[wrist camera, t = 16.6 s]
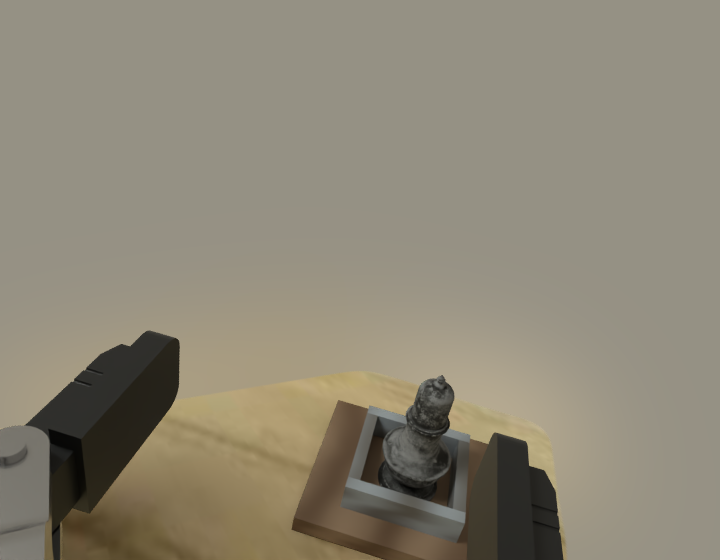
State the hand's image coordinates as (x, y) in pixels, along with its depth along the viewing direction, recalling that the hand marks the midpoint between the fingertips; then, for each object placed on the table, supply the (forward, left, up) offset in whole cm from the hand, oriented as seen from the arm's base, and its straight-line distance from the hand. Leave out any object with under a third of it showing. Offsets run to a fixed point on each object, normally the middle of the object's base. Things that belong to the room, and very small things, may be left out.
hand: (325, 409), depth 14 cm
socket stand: (+5, +24, -30) cm, 39 cm away
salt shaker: (+5, +24, -29) cm, 38 cm away
